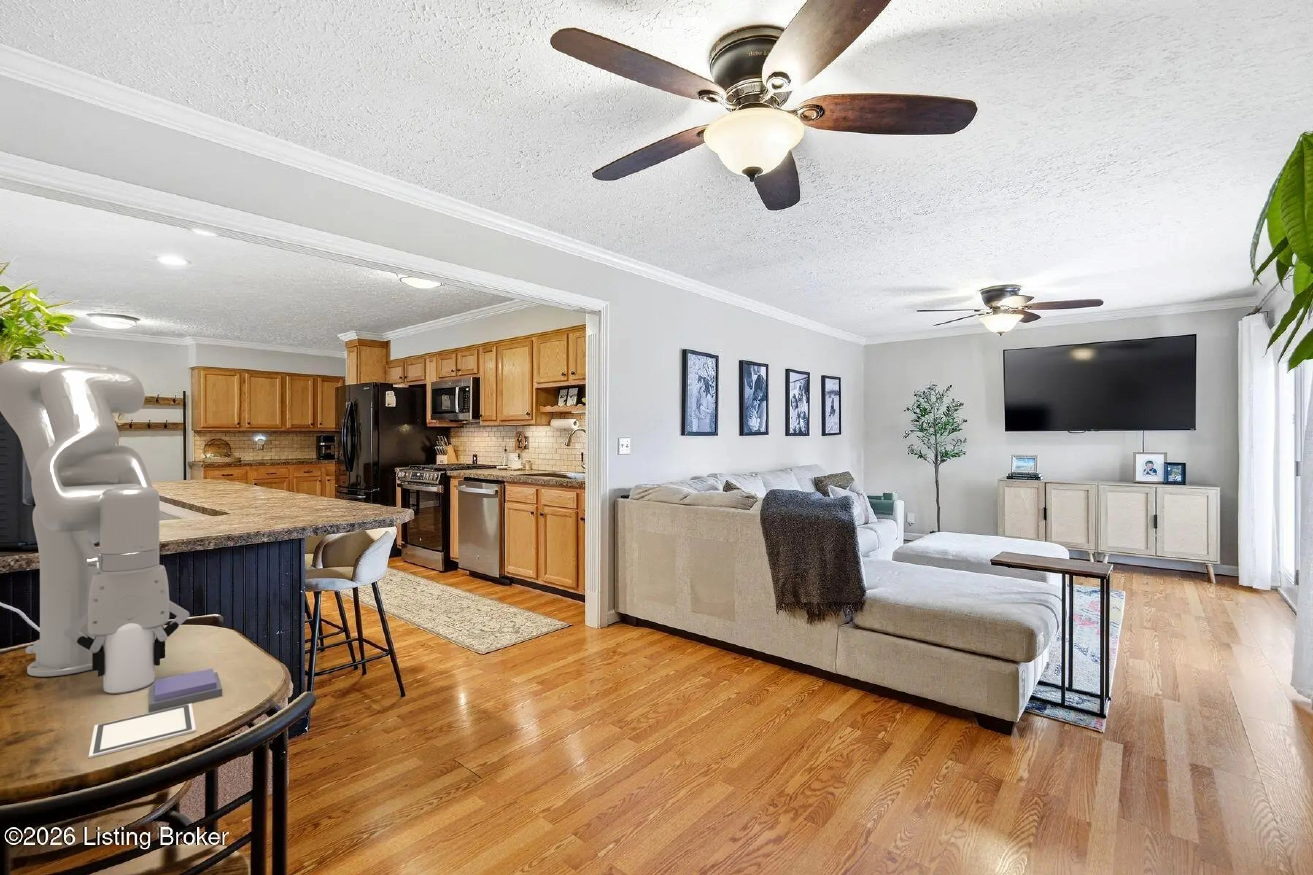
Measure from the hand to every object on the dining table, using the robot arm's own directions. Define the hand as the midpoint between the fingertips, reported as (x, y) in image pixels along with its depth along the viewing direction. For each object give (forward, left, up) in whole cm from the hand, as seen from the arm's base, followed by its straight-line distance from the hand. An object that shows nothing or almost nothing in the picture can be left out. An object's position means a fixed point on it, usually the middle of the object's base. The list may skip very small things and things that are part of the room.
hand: (129, 667), depth 100 cm
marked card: (+16, -13, -3) cm, 21 cm away
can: (0, 0, -3) cm, 3 cm away
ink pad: (+12, -2, -3) cm, 13 cm away
